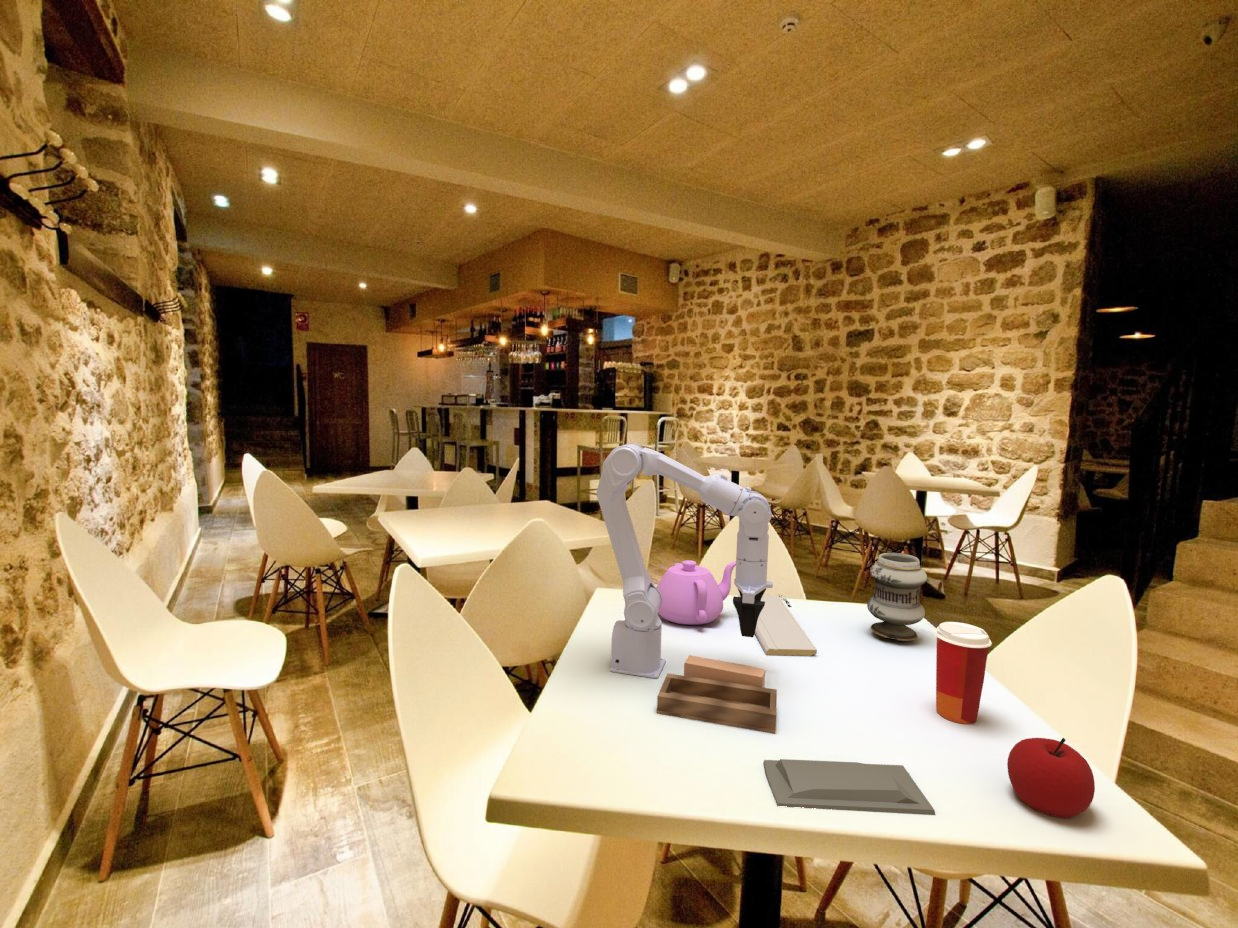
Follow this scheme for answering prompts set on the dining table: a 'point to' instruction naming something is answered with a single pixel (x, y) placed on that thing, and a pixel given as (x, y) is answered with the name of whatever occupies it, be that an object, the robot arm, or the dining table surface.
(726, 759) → the dining table surface
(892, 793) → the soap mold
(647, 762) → the dining table surface
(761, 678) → the clay block
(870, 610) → the apothecary jar
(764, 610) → the baseboard
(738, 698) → the tray
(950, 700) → the coffee cup
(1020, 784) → the apple
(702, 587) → the teapot
